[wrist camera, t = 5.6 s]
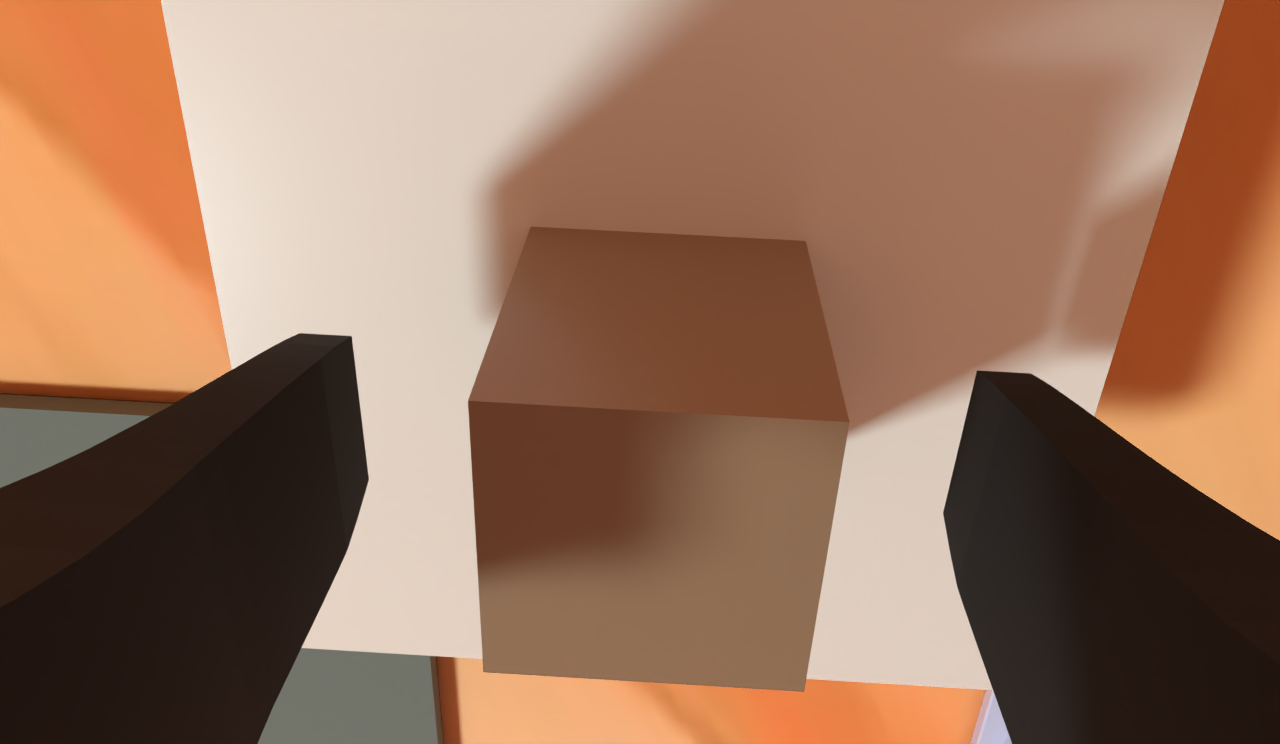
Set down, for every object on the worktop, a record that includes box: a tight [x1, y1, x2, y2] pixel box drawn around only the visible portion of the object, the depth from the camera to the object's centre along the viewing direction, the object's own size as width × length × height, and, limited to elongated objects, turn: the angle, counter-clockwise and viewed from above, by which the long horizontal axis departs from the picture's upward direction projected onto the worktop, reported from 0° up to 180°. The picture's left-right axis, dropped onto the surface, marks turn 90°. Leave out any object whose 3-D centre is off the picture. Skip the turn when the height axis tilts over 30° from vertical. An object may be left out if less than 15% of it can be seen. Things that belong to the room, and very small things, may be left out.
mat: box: [0, 394, 444, 744], centre depth 24 cm, size 14×14×1 cm
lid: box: [161, 0, 1225, 692], centre depth 12 cm, size 12×12×5 cm
